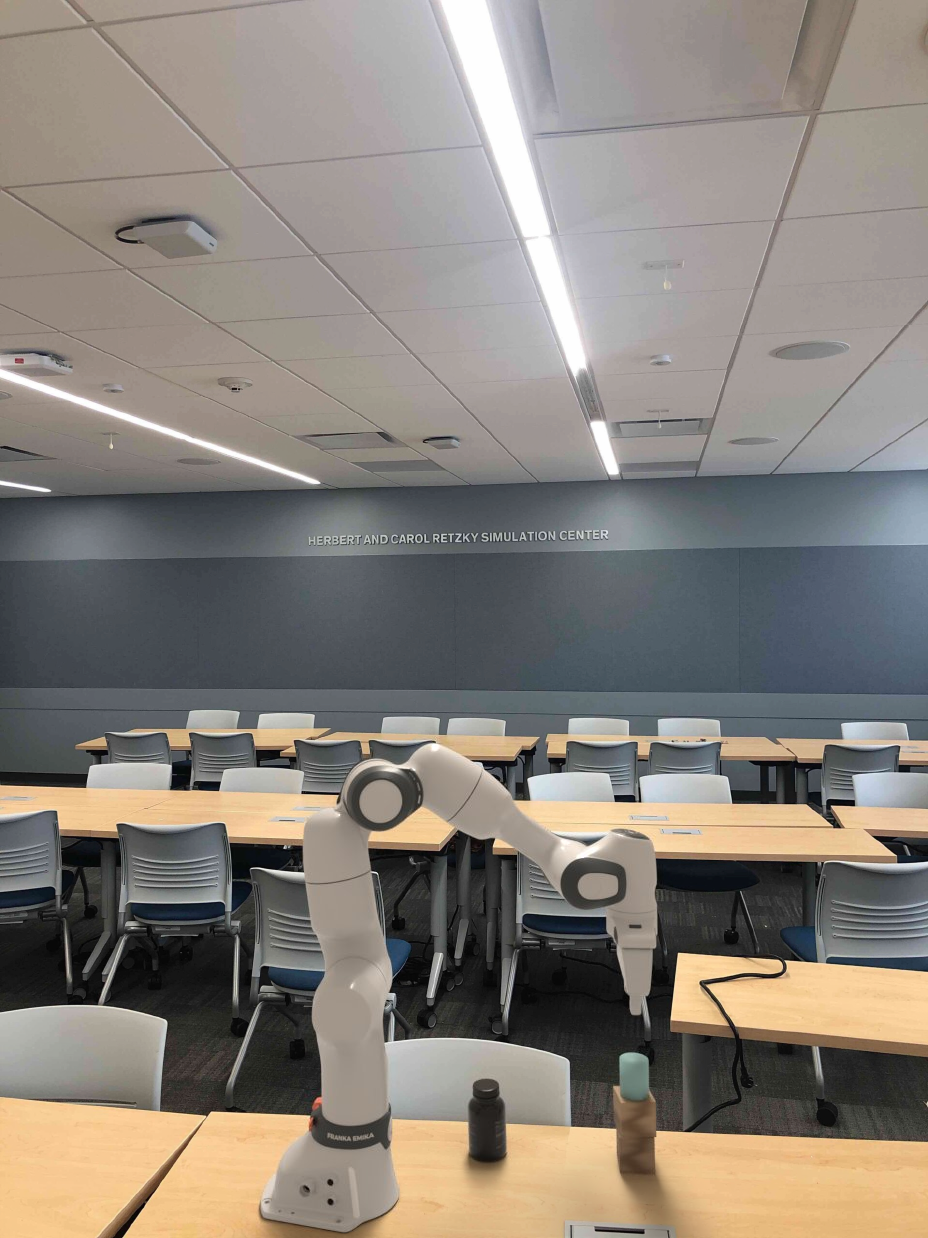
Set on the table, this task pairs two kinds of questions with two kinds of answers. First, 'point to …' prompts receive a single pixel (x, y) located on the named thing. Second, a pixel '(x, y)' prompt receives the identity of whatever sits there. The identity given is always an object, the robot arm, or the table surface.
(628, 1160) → the tower base
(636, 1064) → the teal rounded cylinder
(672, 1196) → the table surface
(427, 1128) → the table surface
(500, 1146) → the supplement bottle
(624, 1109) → the tower top
